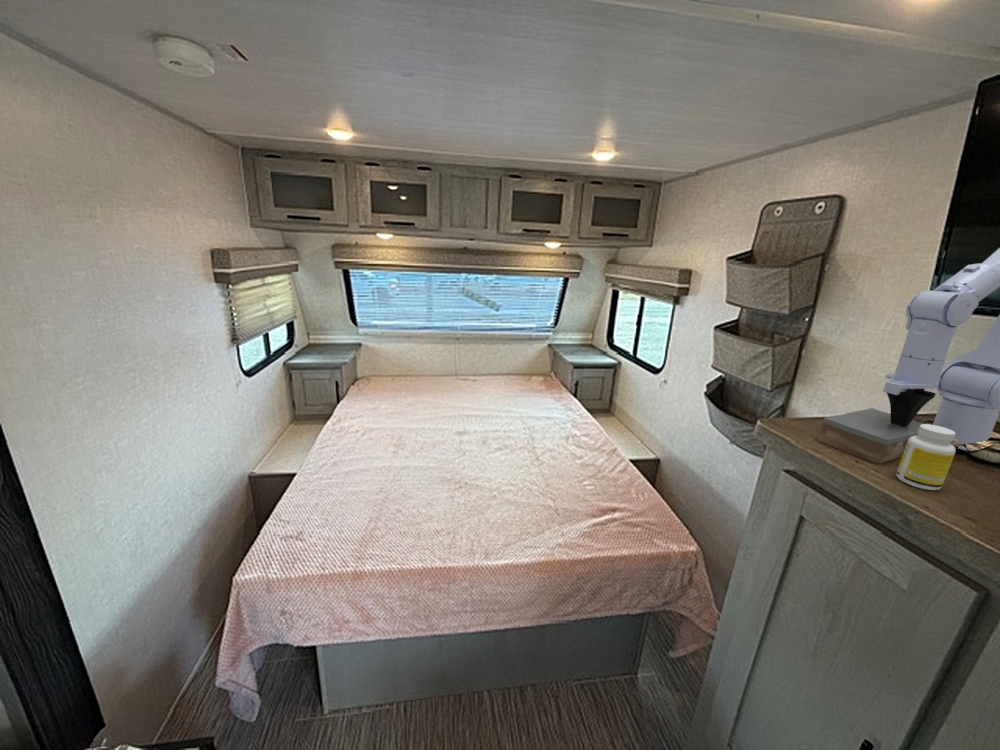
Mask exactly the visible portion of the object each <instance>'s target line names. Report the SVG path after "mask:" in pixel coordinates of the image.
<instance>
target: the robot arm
mask: <svg viewBox="0 0 1000 750" xmlns="http://www.w3.org/2000/svg"><path fill="white" fill-rule="evenodd" d="M998 288H1000V247H998V248H997V249H996V250H995V251H994V252H993V253H991V255H989V256H988V257H987V258H986V259H985V260H983V262H982V263H973V264H968V265H966V266H965V267H963V268H962V269H960V270H959V271H958V272H957V273H955V274H954V275H952V276H951V277H950V278H948V279H946V280H945V281H944V282H942V283H941V284H940V285H939V286H937V287H936V288H935V289H933V290H924V291H923V292H921V293H918V294H916V295H914V297H912V299H911V300H910V301H909V303H908V304H907V305H906V309H905V314H906V315H905V316H906V319H907V321H906V324H905V327H906V328H905V329H906V330H907V335H906V338H905V340H904V343H903V346H902V349H901V353H900V355H899V356H900V357H899V359H898V362H897V365H896V369H895V371H894V373H886V375H885V379H888V381H885V385H884V386H883V387H884V388H883V391H882V392H884V393H886V395H887V397H888V400H889V405H890V406H889V407H890V414H891V423H893V424H896V425H899V426H902V427H906V426H908V425H909V424H910V423H911V421H912V420H913V421H914V418H915V417H916V416H917V415H918V413H919V412H920V410H921V409H922V408H923V407H925V405H927V404H928V403H929V402H930V401H931V400H933V399H934V398H935V396H936V393H935V392H932V391H928V390H931V389H932V390H935V389H936V390H937V391H938V392H939V394H938V396H939V397H942V399H941V401H940V404H939V407H938V409H937V413H936V416H935V418H934V420H933V423H932V425H936V426H940V427H944V428H947V429H950V430H952V431H954V432H955V433H956V434H955V437H954V438H955V439H957V440H959V441H961V442H962V443H963V444H967V443H976V442H983V440H988V439H989V440H990V438H991V435H992V433H993V431H994V428H995V425H996V423H997V420H998V418H999V411H998V408H1000V314H999V315H998V316H997V317H996V319H995V321H994V322H993V323H992V325H991V327H990V328H989V329H988V331H987V332H986V334H985V335H984V337H983V338H982V340H981V342H979V344H978V346H977V347H976V349H975V350H971V351H968V352H965V353H961V354H957V355H955V356H953V357H952V358H951V360H950V361H949V362H948V363H947V364H946V365H945V366H944V363H945V361H946V358H947V355H948V352H949V349H950V346H951V343H952V341H953V338H954V335H955V334H956V333H955V332H956V330H957V327H958V326H961V325H962V324H964V323H966V322H967V321H968V320H969V319H970V318H971V316H972V314H973V312H974V311H975V309H977V308H978V306H979V304H980V303H979V302H981V301H982V300H983V299H985V298H986V297H987V296H989V295H990V294H991V293H993V292H994V291H996V290H997V289H998ZM927 389H928V390H927ZM989 440H988V441H989ZM957 449H960V450H962V451H966V452H968V451H967V450H966V448H965V447H964V446H958V448H957Z"/></svg>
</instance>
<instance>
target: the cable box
mask: <svg viewBox="0 0 1000 750" xmlns="http://www.w3.org/2000/svg"><path fill="white" fill-rule="evenodd" d="M817 440H818V442H820V443H823V444H825V445H828V446H830V447H832V446H833V447H832V448H834V449H837V448H838V450H841V451H843V452H845V453H848V454H851V455H853V456H856V457H857V458H860V459H862V460H863V459H864V460H866V461H869V462H871V463H874V464H876V465H880V464H883V463H887V462H889V461H893V460H897V459H899V458H900V459H901V458H902V456H903V453H904V451H905V448H906V445H907V442H908V440H909V439H908V440H904V441H901V442H897V443H893V444H890V445H884V444H881V443H878V442H876V441H873V440H870V439H867V438H864V437H862V436H859V435H856V434H853V433H850V432H848V431H845V430H842V429H839V428H836V427H834V426H831V425H828V424H825V423H823V422H822V426H821V429H820V432H819V436H818V439H817Z"/></svg>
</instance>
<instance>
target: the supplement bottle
mask: <svg viewBox="0 0 1000 750" xmlns="http://www.w3.org/2000/svg"><path fill="white" fill-rule="evenodd" d="M917 433H918V434H919V435H918V436H912V437H910V438H909V440H908V442H907V445H906V448H905V451H904V453H903V456H902V457H901V458H900V459H901V460H900V462H899V464H898V465H899V466H898V468H897V470H896V474H895V475H896V477H897V479H898V480H900V481H901V482H903V483H905V484H907V485H910V486H911V487H915V488H919V489H921V490H922V489H923V490H929V491H938V490H940V489H942V487H943V485H944V483H945V480H946V477H947V476H948V473H949V470H950V468H951V465H952V462H953V460H954V458H955V454H956V447H954V446H953V445H951V444H950V442H952V441H953V440H954V437H955V434H956V433H955V432H954V431H952V430H950V429H947V428H944V427H940V426H936V425H933V424H929V423H923V424H921V425H920V427H919V429H918V432H917Z"/></svg>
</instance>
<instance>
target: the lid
mask: <svg viewBox="0 0 1000 750" xmlns="http://www.w3.org/2000/svg"><path fill="white" fill-rule="evenodd" d="M823 423H825V424H828V425H831V426H834V427H836V428H839V429H842V430H845V431H848V432H850V433H853V434H856V435H859V436H862V437H864V438H867V439H870V440H873V441H876V442H878V443H881V444H884V445H890V444H893V443H897V442H901V441H904V440H908V439H909V438H910V437H912V436H918V435H919V434H918V433H917V432H918V429H919V427H920V425H921V424H924V423H922V422H920V421H918V420H917V421H916V420H914V419H913V420H912V421H911V423H910V424H909V425H908V426H906V427H902V426H899V425H896V424H893V423H891V412H890V413H889V412H885V411H883V410H880V409H876V408H866V409H863V410H857V411H853V412H848V413H843V414H842V413H841V414H837V415H831V416H827V417H824V418H823V420H822V424H823Z"/></svg>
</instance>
